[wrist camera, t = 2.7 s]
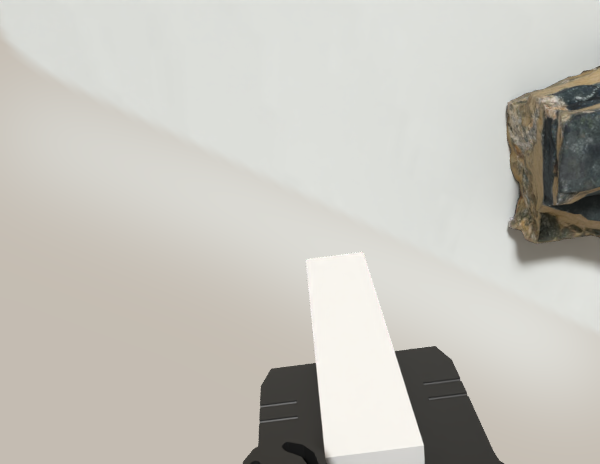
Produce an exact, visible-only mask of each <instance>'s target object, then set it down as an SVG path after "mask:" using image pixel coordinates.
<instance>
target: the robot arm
mask: <svg viewBox="0 0 600 464" xmlns="http://www.w3.org/2000/svg"><path fill="white" fill-rule="evenodd" d="M306 266H307V276H308V287H309V296H310V307H311V317H312V327H313V338H314V347H315V357H316V363H313V364H305V365H297V366H290V367H281V368H274V369H271V370H270V372H269V373H268V375H267V377H266V379H265V380H264V382H263V384H262V385H261V397H260V400H261V401H260V424H259V444H258V447H257V448H255V449H253V450H252V452H251V453H250V454H249V455H248V456H247V458H246V459H245V460H244V461H243V464H504V463H502V462H501V461H499V459H498V458H497V456H496V455H495V453H494V451H493V449H492V447H491V445H490V443H489V440H488V438H487V436H486V434H485V432H484V429H483V427H482V425H481V423H480V421H479V419H478V416H477V414H476V412H475V410H474V408H473V405H472V403H471V401H470V399H469V397H468V396H467V392H466V390H465V388H464V386H463V383H462V382H461V381H460V377H459V375H458V372H457V370H456V368H455V366H454V364H453V362H452V360H451V359H450V358H449V357H448V356H446V355H445V354H444V353H443V352H442V351H440V350H439V349H438V348H437V347H436V346H433V347H425V348H417V349H409V350H402V351H394V349H393V345H392V342H391V339H390V336H389V332H388V329H387V326H386V323H385V320H384V317H383V313H382V310H381V307H380V304H379V300H378V297H377V294H376V291H375V287H374V284H373V281H372V278H371V275H370V272H369V268H368V265H367V262H366V259H365V256H364V252H357V253H349V254H342V255H334V256H327V257H319V258H312V259H306Z"/></svg>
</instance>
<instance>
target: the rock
mask: <svg viewBox="0 0 600 464" xmlns="http://www.w3.org/2000/svg"><path fill="white" fill-rule="evenodd" d="M507 114H508V118H507V141H508V143H509V145H510V148H511V154H510V167H511V170H512V172H513V175H514V177H515V179H516V180H517V181H518V182H519V184H520V197H519V199H518V203H517V206H516V213H515V216H514V217H512V218H510V222H509V227H511V229H512V228H513V229H517V230H521V231H522V233H523V235H524V237H525V239H526V240H528V241H530V242H533V243H536V244H538V243H544V242H552V241H560V240H563V239H571V238H575V237H583V236H589V235H592V236H596V237H599V238H600V66H598V67H596V68H594V69H591V70H587V71H583V72H582V73H581V74H580V75H577V76H572V77H567V78H566V79H563V80H561V81H559V82H557V83H555V84H553V85H551V86H549V87H547V88H545V89H542V90H536V91H533V92H530V93H526V94H524V95H522V96H520V97H518V98H516V99H514V100H512V101H510V102H508V105H507Z"/></svg>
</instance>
